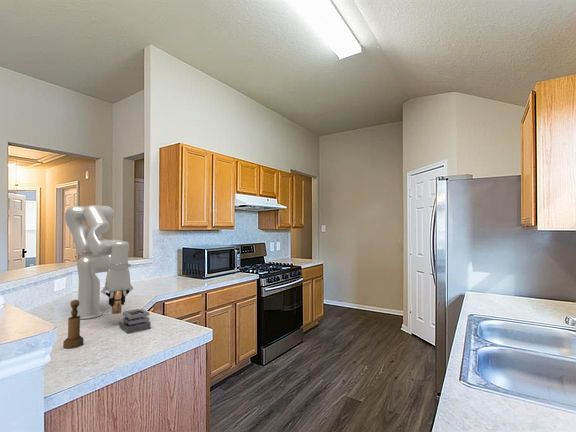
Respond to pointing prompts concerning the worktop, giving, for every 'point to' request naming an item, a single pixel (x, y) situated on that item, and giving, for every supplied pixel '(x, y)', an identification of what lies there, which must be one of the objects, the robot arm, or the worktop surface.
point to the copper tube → (117, 302)
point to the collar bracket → (135, 321)
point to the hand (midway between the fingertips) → (116, 304)
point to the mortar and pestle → (73, 328)
